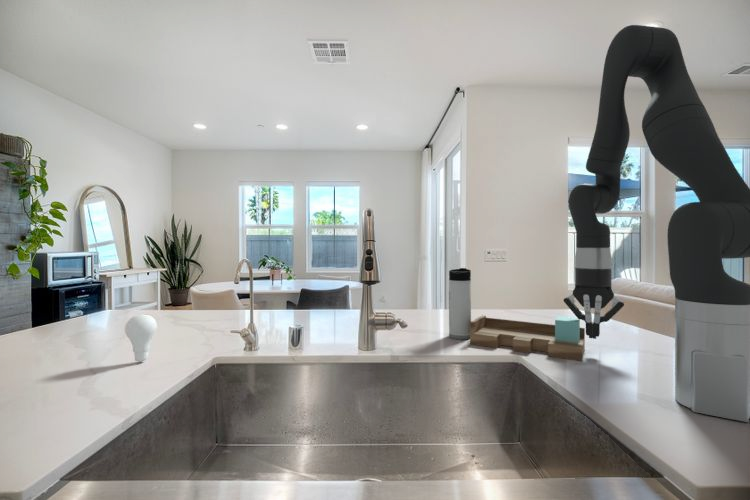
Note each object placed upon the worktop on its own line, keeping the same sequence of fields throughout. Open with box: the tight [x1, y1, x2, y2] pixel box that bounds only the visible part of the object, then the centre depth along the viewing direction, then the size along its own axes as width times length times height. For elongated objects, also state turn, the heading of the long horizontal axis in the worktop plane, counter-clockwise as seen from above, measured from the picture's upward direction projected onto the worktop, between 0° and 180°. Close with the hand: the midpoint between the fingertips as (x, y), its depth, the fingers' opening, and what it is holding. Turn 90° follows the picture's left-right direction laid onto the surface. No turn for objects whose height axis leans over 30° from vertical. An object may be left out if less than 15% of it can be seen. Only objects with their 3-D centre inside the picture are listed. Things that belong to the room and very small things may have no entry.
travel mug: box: [448, 267, 472, 341], centre depth 102 cm, size 6×7×20 cm
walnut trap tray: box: [469, 315, 586, 362], centre depth 91 cm, size 11×26×6 cm, turn 56°
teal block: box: [554, 316, 581, 343], centre depth 87 cm, size 5×5×5 cm
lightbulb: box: [124, 313, 158, 363], centre depth 80 cm, size 6×6×11 cm
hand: (592, 337), depth 84 cm, fingers closed
